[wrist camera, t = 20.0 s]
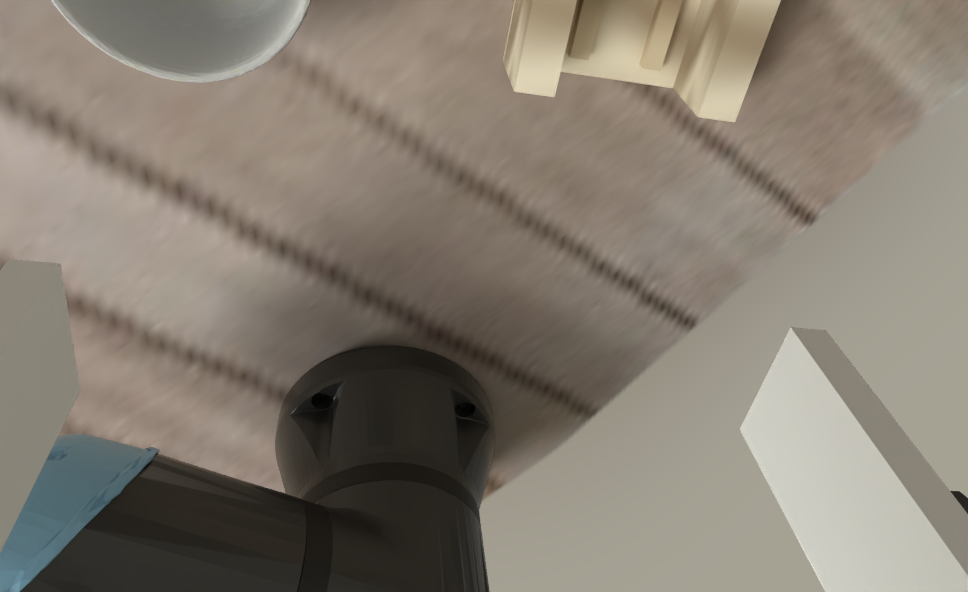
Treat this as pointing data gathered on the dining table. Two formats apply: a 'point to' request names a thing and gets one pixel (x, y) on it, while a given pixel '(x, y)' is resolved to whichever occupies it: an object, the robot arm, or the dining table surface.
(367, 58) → the dining table surface
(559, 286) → the dining table surface
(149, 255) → the dining table surface
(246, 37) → the teacup
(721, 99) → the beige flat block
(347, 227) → the dining table surface
